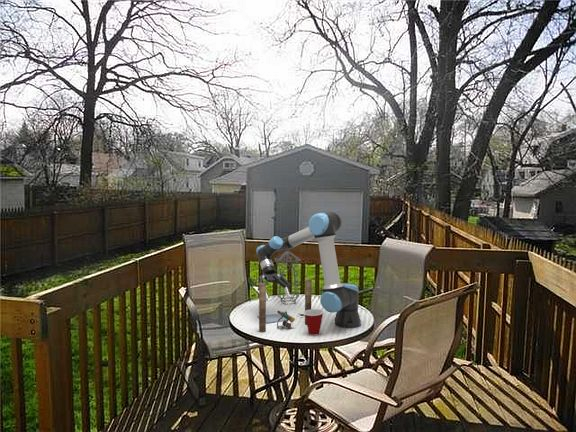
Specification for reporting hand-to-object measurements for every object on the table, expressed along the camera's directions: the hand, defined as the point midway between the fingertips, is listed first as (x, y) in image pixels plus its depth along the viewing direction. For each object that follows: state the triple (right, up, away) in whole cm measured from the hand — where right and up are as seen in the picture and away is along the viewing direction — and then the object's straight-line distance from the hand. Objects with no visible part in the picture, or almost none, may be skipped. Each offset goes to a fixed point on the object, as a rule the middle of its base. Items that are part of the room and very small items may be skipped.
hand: (278, 298), depth 255 cm
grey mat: (-3, -13, +8) cm, 16 cm away
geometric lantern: (+5, -11, +46) cm, 47 cm away
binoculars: (+4, -15, -8) cm, 17 cm away
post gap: (+4, -15, -8) cm, 17 cm away
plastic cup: (+19, -15, -17) cm, 30 cm away
